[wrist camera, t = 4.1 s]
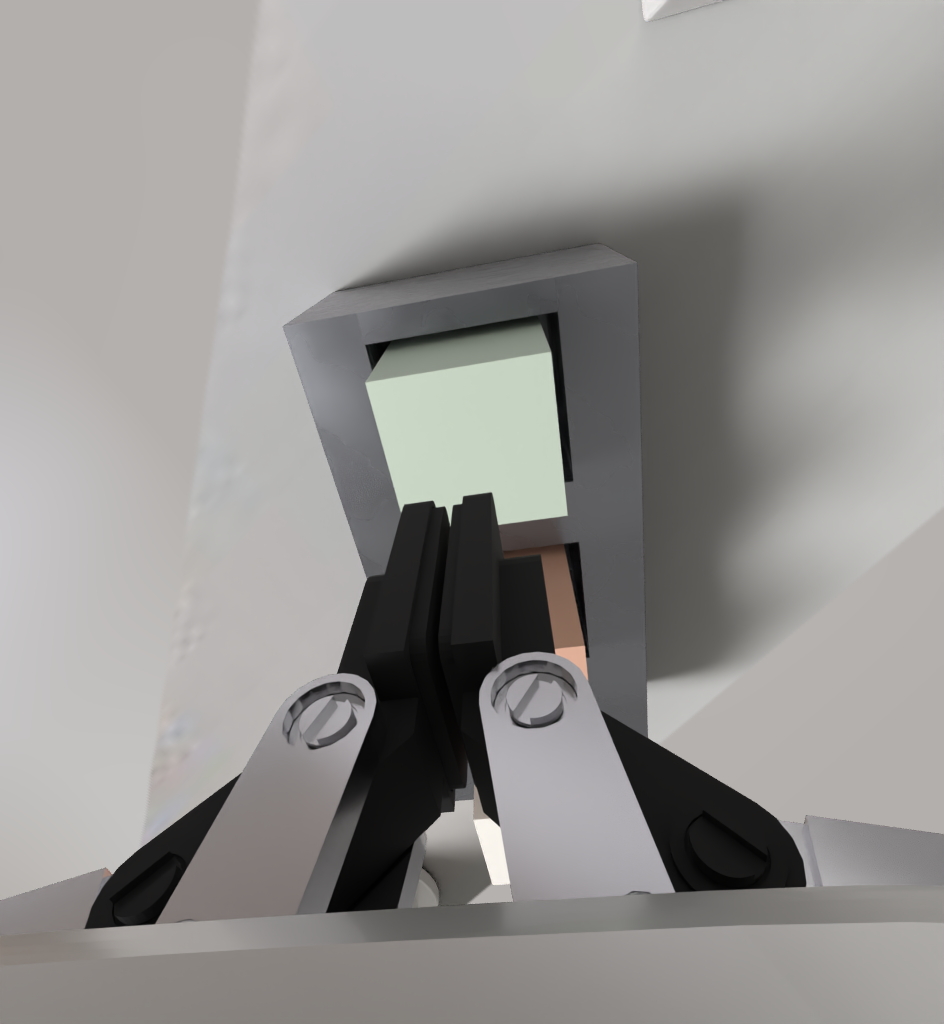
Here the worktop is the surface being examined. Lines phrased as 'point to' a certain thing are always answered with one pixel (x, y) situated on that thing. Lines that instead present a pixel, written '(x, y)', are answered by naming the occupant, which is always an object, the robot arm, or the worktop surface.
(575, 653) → the peach key
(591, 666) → the grey socket block
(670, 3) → the milk carton
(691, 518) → the worktop surface
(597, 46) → the worktop surface
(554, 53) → the worktop surface
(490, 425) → the pale green block
